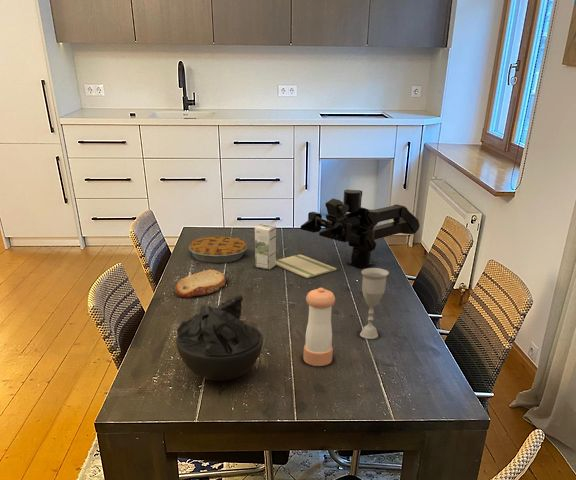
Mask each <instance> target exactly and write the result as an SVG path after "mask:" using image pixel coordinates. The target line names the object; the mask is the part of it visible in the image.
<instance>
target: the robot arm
mask: <svg viewBox="0 0 576 480" xmlns="http://www.w3.org/2000/svg"><path fill="white" fill-rule="evenodd" d="M362 198H363V190H360V189H344V190H343V199H342V200H343V201H341V199H338V198H331V199H330V200H327V202H325V203H324V204H325V207H326V211H327V214H325V218H323V215H322V214H321V213H319V212H316V211H309V212H308V214H307V220H306V221H305V222H304V223H303V224H301V225H300V230H301V231H306V232H310V233H313V234H315V233H318V235H319V236H320V237H322V238H326V239H331V240H333V241H338V242H342V243H347V242H348V246H349V247H352V252H351V261H348V265H350V266H354V267H356V268H359V269H363V268H366V267H370V266H373V265H374V263H373V262H370V261H371V252H373V251H374V250H375V249H376V247H377V242H376V241H375V240H379V239H383V238H387V237H391V236H394V235H398V234H404V235H415V234H416V233H417V232H418V231H419V229H420V227H421V225H420V221H419V219H418V218H417V217H416V216H415V215H414V214H413V213H412V212H411V211H409V209H408V208H407V207H406V206H405V205H402V204H393V205H390V206H386V207H381V208H375V209H369V208H366V207H362ZM389 220H393V221H390V222H387V223H383V224H378V223H381V222H385V221H389ZM322 227H323V228H325V229H323V230H322Z"/></svg>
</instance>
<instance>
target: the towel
mask: <svg viewBox="0 0 576 480" xmlns="http://www.w3.org/2000/svg"><path fill="white" fill-rule="evenodd" d="M275 266H278V267H280V268H282V269H284V270H286V271H289V272H292V273H294V274H296V275H299V276H301V277H303V278H306V279H309V278H314V277H316V276H317V277H318V276H321V275H324V274H327V273H331V272H335V271H337V270H338V268H337V267H334V266H331V265H329V264H326V263H324V262H321V261H319V260H316V259H314V258H311V257H308V256H307V255H303V254H300V253H299V254H294V255H292V256H288V257H283V258H279V259H276V265H275Z"/></svg>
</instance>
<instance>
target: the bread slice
mask: <svg viewBox="0 0 576 480" xmlns="http://www.w3.org/2000/svg"><path fill="white" fill-rule="evenodd" d="M226 282H227V280H226V276H225V274H224V273H223V272H221V271H219V270H216V269H208V270H202V271H199V272H196V273H194V274H191V275H188V276H186V277H182V278H180V279H179V280H178V281H177V283H176V285H175V287H174V291H175V293H176V294H177V296H178V297H180V298H186V299H191V298H194V297H202V296H207V295H210V294H213V293H215V292H218V291H219V290H220V289H221V288H223V287H224V286H225V284H226Z"/></svg>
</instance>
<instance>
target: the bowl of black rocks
mask: <svg viewBox="0 0 576 480" xmlns="http://www.w3.org/2000/svg"><path fill="white" fill-rule="evenodd" d="M243 298H244V297H243V295H242V294H238V295H236V296H233V297H231V298H229V299H227V300H225V301H224V302H221V303H220V304H218V305H217V306H216V307H213V306H211V305H206V306H205V305H204V304H201V306H200V308H199V310H198V311H199V312H198V313H196V314H194V315H193V316H191V317H190V318H188V319H187V320H182V321H181V323H180V324H179V325H178V327H177V329H176V335H177V336H176V340H175V344H176V349H177V352H178V354H179V356H180V358H181V360H182V362H183V364H184V365H185V366H186V367H187V368H188V369H189V371H191V372H193V373H194V374H195V375H197V376H199V377H201V378H202V379H204V380H205V379H206V380H208V381H213V382H227V381H231V380H235V379H238V378H240V377H241V376H243V375H244V374H246V373H247V372H248V371H249V370H251V368H252V367H254V365H255V364H256V362H257V361H258V359H259V357H260V355H261V353H262V349H263V344H264V337H263V333H261V331H260V330H258V328H256V327H255V326H252V325H250V324H248V323H246V322H245V321H244V320H241V319H240V318H241V316H242V309H243V306H242V305H243V304H242V302H243V300H244V299H243Z"/></svg>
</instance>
